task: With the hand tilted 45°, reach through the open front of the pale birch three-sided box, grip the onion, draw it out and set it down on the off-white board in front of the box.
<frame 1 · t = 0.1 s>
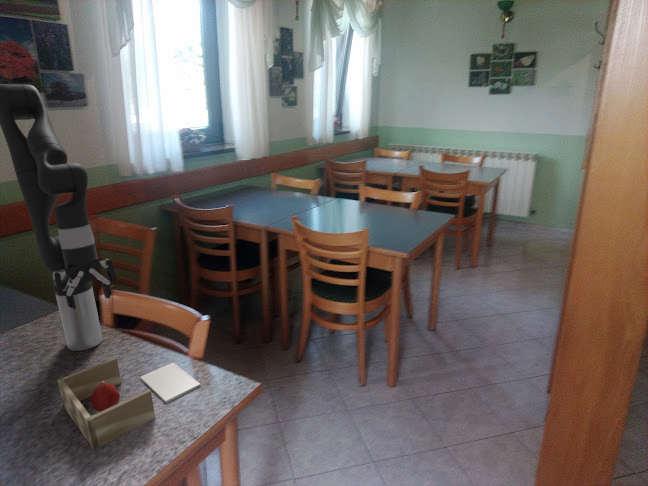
hand: (90, 302, 115), 17 cm above the table, tool pointing down, fingers open, 8 cm apart
open box: (108, 411, 100), on the table
board: (169, 382, 110), on the table
onion: (108, 412, 100), on the table
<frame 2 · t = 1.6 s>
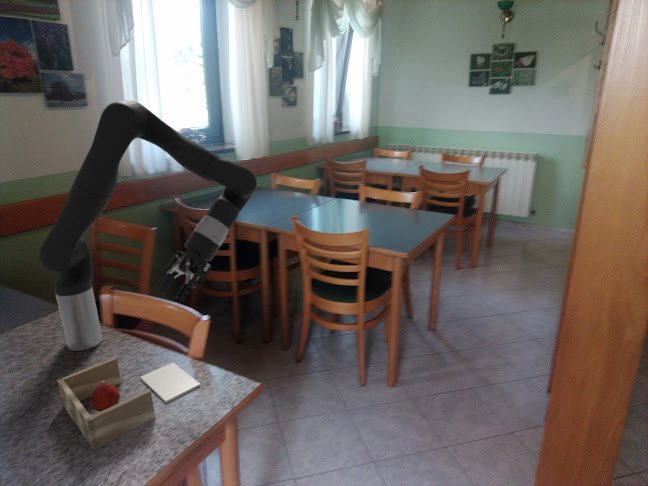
hand: (170, 294, 105), 23 cm above the table, tool tilted 45°, fingers open, 8 cm apart
nothing on the table moved.
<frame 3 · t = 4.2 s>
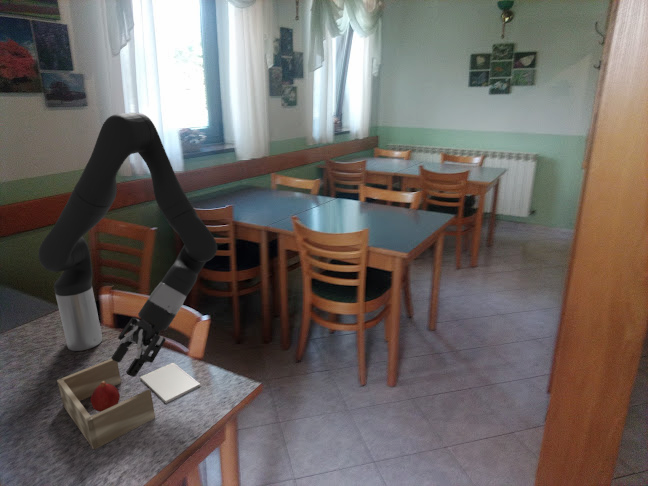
hand: (122, 367, 100), 9 cm above the table, tool tilted 45°, fingers open, 8 cm apart
nothing on the table moved.
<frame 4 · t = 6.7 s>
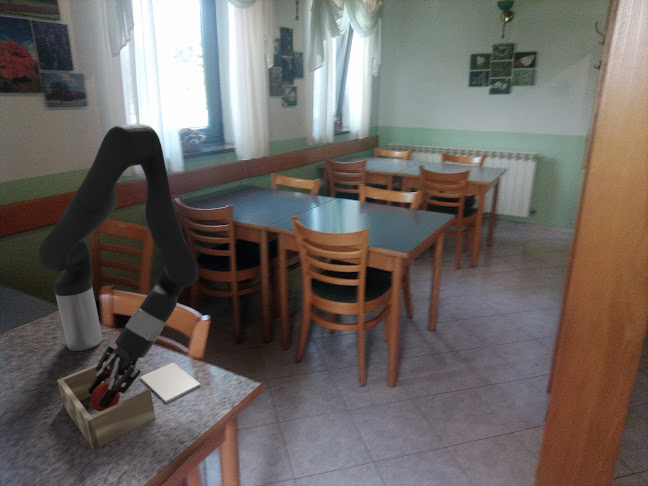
hand: (96, 399, 98), 4 cm above the table, tool tilted 45°, fingers closed on onion, 5 cm apart
onion: (108, 412, 100), on the table, touching gripper
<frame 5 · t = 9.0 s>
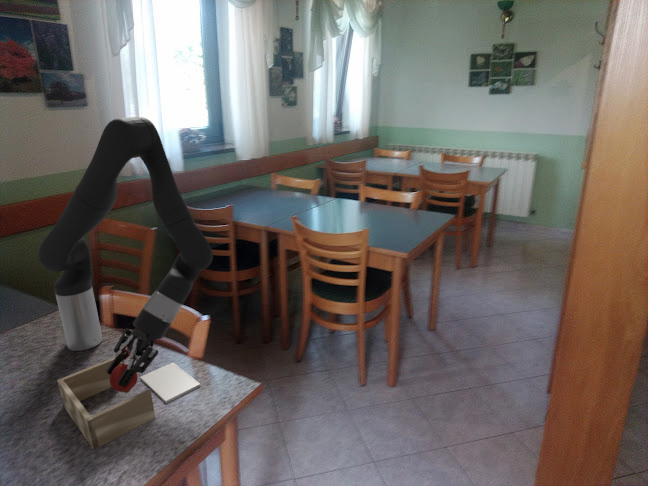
hand: (115, 379, 100), 7 cm above the table, tool tilted 45°, fingers closed on onion, 5 cm apart
onion: (126, 392, 102), point 3 cm above the table, touching gripper
when the fingers open (6 cm above the table, at t = 11.7 s): onion stays where it is, resting on board.
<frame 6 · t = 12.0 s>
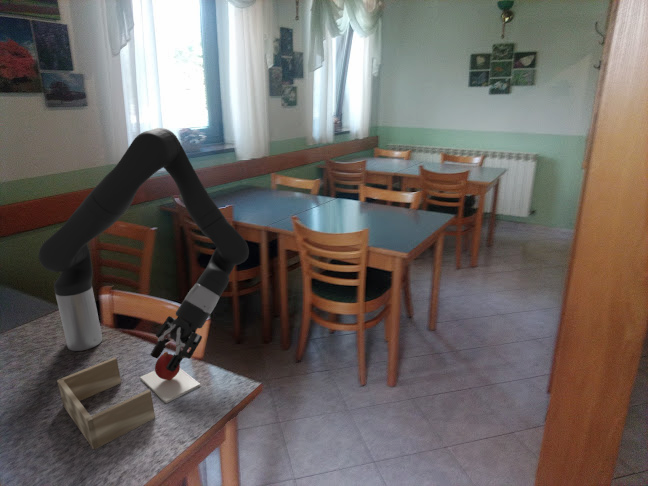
hand: (161, 363, 107), 6 cm above the table, tool tilted 45°, fingers open, 8 cm apart
onion: (169, 380, 110), resting on board
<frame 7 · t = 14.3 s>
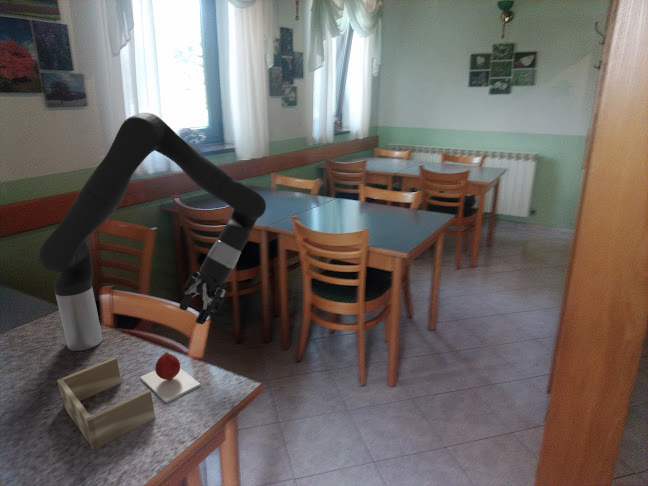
hand: (190, 316, 113), 14 cm above the table, tool tilted 35°, fingers open, 8 cm apart
nothing on the table moved.
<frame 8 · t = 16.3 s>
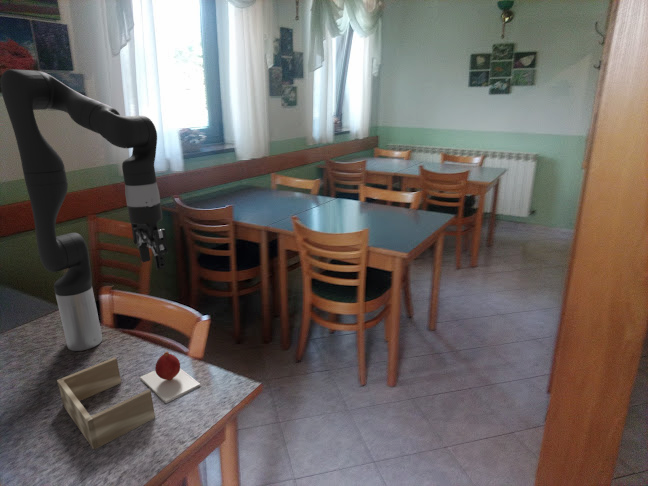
hand: (153, 265, 110), 28 cm above the table, tool pointing down, fingers open, 8 cm apart
nothing on the table moved.
at the end: onion inside the target area on the board (0.3 cm from its centre), point 0.4 cm above the board's base; the gripper is holding nothing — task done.
